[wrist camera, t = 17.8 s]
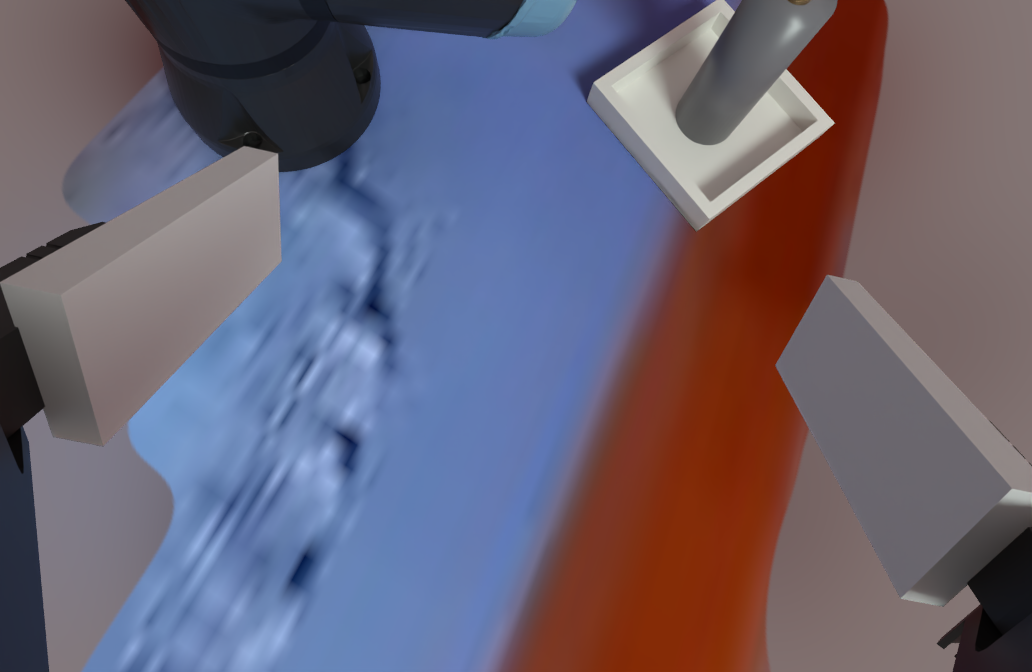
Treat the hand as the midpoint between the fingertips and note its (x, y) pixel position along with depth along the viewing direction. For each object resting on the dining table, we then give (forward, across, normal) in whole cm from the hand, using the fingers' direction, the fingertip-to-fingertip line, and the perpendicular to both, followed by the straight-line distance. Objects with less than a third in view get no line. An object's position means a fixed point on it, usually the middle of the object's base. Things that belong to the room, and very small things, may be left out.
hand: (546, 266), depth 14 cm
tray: (+38, +13, -2) cm, 40 cm away
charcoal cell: (+37, +13, -2) cm, 40 cm away
